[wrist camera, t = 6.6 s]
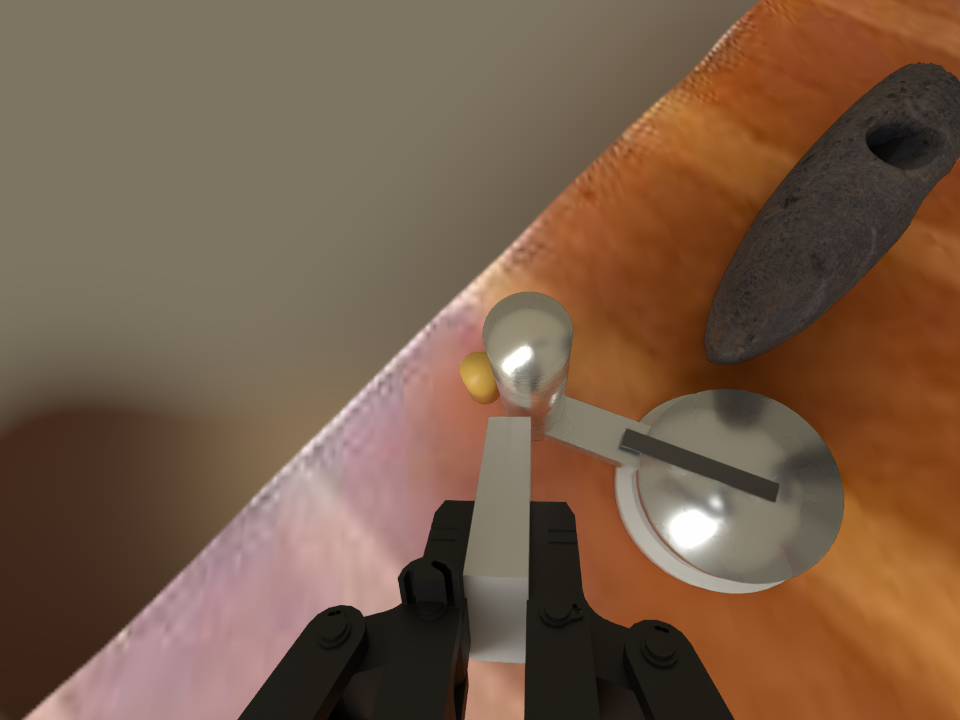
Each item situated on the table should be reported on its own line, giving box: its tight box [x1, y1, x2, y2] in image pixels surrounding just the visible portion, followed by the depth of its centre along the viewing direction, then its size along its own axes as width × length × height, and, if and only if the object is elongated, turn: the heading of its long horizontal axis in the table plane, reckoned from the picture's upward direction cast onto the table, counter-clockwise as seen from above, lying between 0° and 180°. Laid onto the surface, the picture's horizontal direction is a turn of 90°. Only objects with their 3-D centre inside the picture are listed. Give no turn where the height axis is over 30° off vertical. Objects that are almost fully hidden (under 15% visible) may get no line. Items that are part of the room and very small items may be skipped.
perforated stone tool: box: [704, 62, 960, 365], centre depth 22 cm, size 15×5×7 cm, turn 136°
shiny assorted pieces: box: [460, 352, 785, 594], centre depth 21 cm, size 16×13×3 cm
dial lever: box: [483, 292, 844, 584], centre depth 16 cm, size 13×7×9 cm, turn 67°
